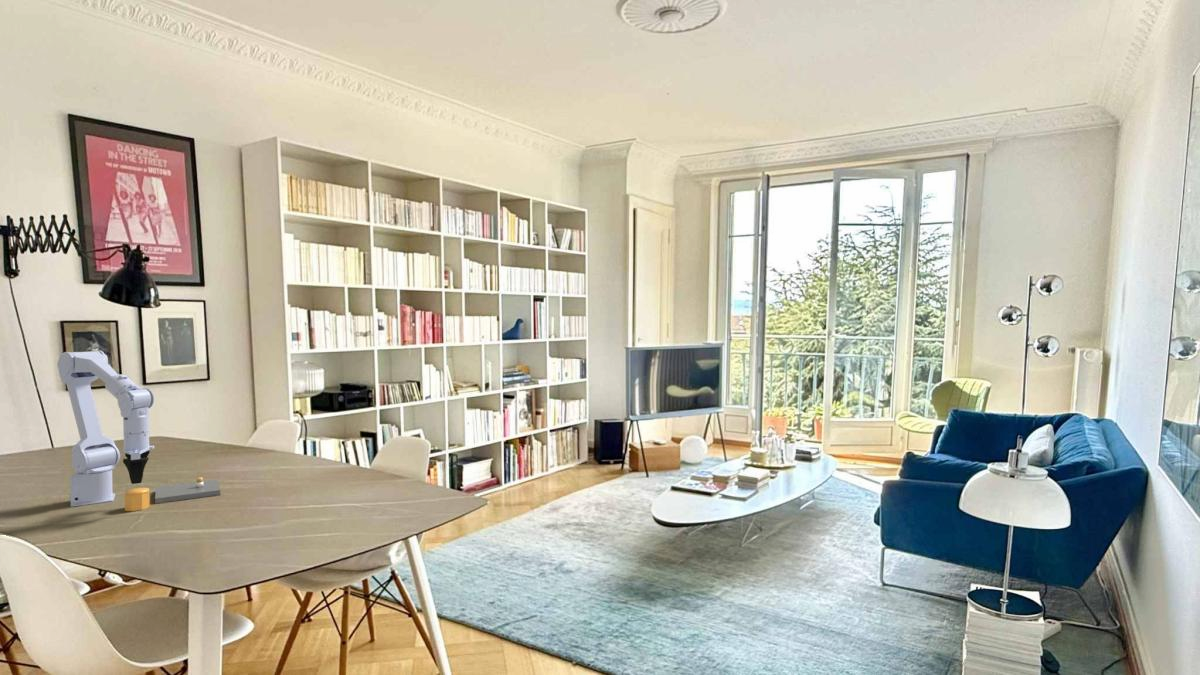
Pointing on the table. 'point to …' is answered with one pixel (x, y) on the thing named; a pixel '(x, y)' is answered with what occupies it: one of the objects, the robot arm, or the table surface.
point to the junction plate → (187, 491)
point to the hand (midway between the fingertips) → (137, 480)
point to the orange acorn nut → (137, 499)
